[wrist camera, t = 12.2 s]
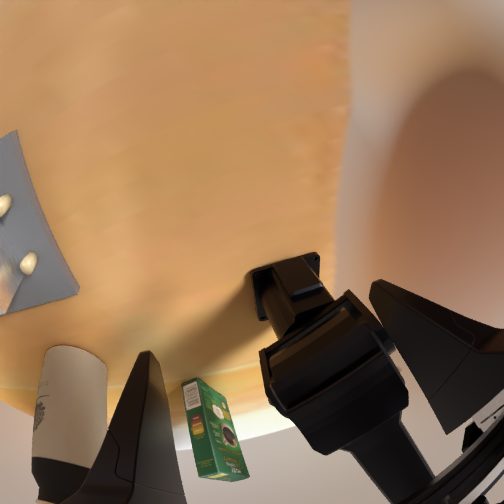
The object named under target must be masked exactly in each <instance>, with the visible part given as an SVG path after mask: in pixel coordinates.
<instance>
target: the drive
mask: <svg viewBox="0 0 504 504" xmlns="http://www.w3.org/2000/svg"><path fill="white" fill-rule="evenodd" d="M20 263H21V261H20V259H19V257H18V255H17V253H16V251H15V250H14V248H13V246H12V244H11V242H10V239H9V237H8V235H7V233H6V231H5V229H4V227H3V224H2V222H1V220H0V315H2V314H5V313H6V311H7V309H8V307H9V304H10V302H11V300H12V298H13V296H14V294H15V292H16V290H17V288H18V286H19V285H20V283H21V281H22V279H23V277H24V275H25V274H24V273H23V272H22V270H21V269H20Z"/></svg>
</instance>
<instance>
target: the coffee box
mask: <svg viewBox="0 0 504 504" xmlns="http://www.w3.org/2000/svg"><path fill="white" fill-rule="evenodd" d="M182 390H183V397H184V404H185V410H186V416H187V422H188V427H189V433H190V438H191V443H192V448H193V453H194V458H195V463H196V467H197V471H198V476H199V477H200V478H208V479H216V480H222V481H230V482H233V481H239V480H243V479H246V478H249V477H250V475H249V473H248V470H247V467H246V464H245V461H244V458H243V455H242V452H241V449H240V445H239V442H238V439H237V436H236V432H235V429H234V426H233V422H232V419H231V415H230V412H229V408H228V405H227V401H226V398H225V397H223V396H222V395H221V394H220V393H218V392H216V391H215V390H213V389H212V388H211V387H209V386H208V385H207V384H206V383H204V382H202V381H201V380H200V379H199V378H195V379H193V380H191V381H188V382H186V383H183V384H182Z"/></svg>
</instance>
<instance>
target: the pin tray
mask: <svg viewBox="0 0 504 504" xmlns="http://www.w3.org/2000/svg"><path fill="white" fill-rule="evenodd" d="M0 220H1V222H2V224H3V227H4V229H5V231H6V233H7V235H8V237H9V239H10V242H11V244H12V246H13V248H14V250H15V251H16V253H17V255H18V257H19V259H20V261H21V263H20V269H21V270H22V272H23V273H24V274H25V275H24V277H23V279H22V281H21V283H20V285H19V286H18V288H17V290H16V292H15V294H14V296H13V298H12V300H11V302H10V304H9V307H8V309H7V311H6V313H5V314H9V313H12V312H16V311H19V310H23V309H27V308H30V307H34V306H38V305H41V304H45V303H48V302H52V301H56V300H59V299H63V298H67V297H70V296H74V295H78V291H79V288H80V286H79V285H78V283H77V281H76V279H75V278H74V276H73V274H72V272H71V270H70V268H69V267H68V265H67V263H66V261H65V259H64V257H63V255H62V253H61V251H60V249H59V247H58V245H57V243H56V241H55V239H54V236H53V234H52V232H51V230H50V228H49V225H48V223H47V221H46V218H45V216H44V214H43V211H42V209H41V206H40V204H39V201H38V198H37V196H36V193H35V190H34V187H33V185H32V182H31V179H30V176H29V173H28V170H27V166H26V163H25V160H24V156H23V153H22V149H21V145H20V141H19V137H18V133H17V130H15V131H13V132H10V133H8V134H7V135H5V136H4V137H2V138H1V139H0ZM5 314H2V315H5ZM2 315H0V316H2Z"/></svg>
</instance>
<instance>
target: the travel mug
mask: <svg viewBox="0 0 504 504" xmlns="http://www.w3.org/2000/svg"><path fill="white" fill-rule="evenodd" d="M107 380H108V371H107V368H106V366H105V365H104V363H103V362H102V361H101V360H100V359H99V358H97V357H96V356H94V355H93V354H91V353H89V352H87V351H85V350H82V349H80V348H76V347H72V346H65V345H61V346H54V347H52V348H50V349H49V350H48V351H47V352H46V355H45V359H44V363H43V368H42V373H41V378H40V383H39V388H38V395H37V401H36V408H35V417H34V426H33V439H32V440H33V441H32V474H33V476H34V478H35V480H36V482H37V484H38V486H39V495H38V499H37V500H36V503H37V504H60V503H62V502H63V501H65V500H66V499H68V498H69V497H71V496H72V495H73V494H75V493H76V492H77V491H78V490H79V489H80V488H81V487H82V485H83V483H84V482H85V480H86V477H87V475H88V473H89V471H90V469H91V467H92V465H93V463H94V461H95V459H96V457H97V455H98V452H99V450H100V448H101V445H102V443H103V440H104V438H105V435H106V433H107Z"/></svg>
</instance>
